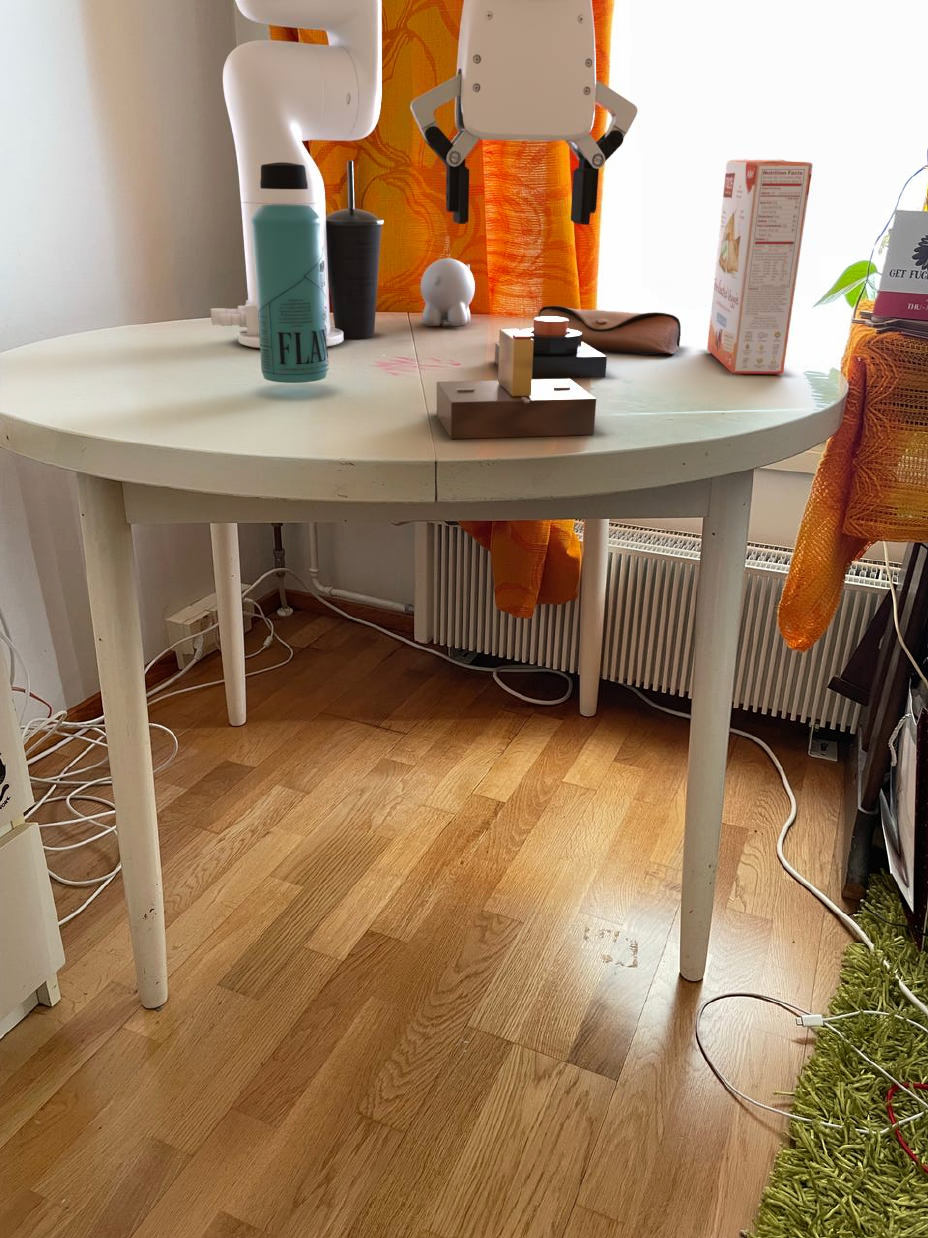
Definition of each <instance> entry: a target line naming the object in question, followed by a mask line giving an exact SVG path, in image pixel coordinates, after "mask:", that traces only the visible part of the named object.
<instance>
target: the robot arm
mask: <svg viewBox="0 0 928 1238" xmlns="http://www.w3.org/2000/svg"><path fill="white" fill-rule="evenodd" d="M234 2H235V4H236V6H237V8H238V10H239V12H240V13H241V14H242V16H244V17H245V18H246V19H248V20H249V21H252V22H255V23H256V24H257V23H258V24H263V25H269V26H275V27H284V28H293V29H294V28H295V29H305V30H315V31H325V33H326V36H327V41H328V44H319V43H318V44H316V43H307V42H299V41H288V40H275V39H257V40H251V41H248V42H245V43H242V44H239V45H238V46H236V47H235V48H234V49H233V50H232V51H231V52H230V53H229V54H228V55H227V58H226V60H225V62H224V66H223V71H222V89H223V96H224V101H225V105H226V109H227V114H228V118H229V122H230V126H231V132H232V136H233V142H234V147H235V154H236V160H237V162H236V163H237V171H238V181H239V194H240V206H241V219H242V234H243V247H244V261H245V273H246V275H245V276H246V285H247V286H246V288H247V299H245V305H237V308H226V307H223V308H222V307H218V308H214V307H213V308H212V307H211V308H210V318H211V325H212V326H221V327H231V326H238V327H239V328H244V329H241V330H239V331H238V332H237V341H238V343H239V344H241V345H243V346H245V347H250V348H255V349H260V338H259V324H258V297H257V284H256V271H255V257H254V244H253V230H252V224H251V218H252V216H253V215H254V214H255V212H256V211H257V210H258V209H259V208H260V207H261V206H262V205H277V204H287V205H307V206H310V207H311V208H312V209H313V210H314V211H315V212H316V213H317V214H318V215H319V217H320V218H321V225H320V228H321V244H322V249H323V248H324V250H322V253H323V255H322V261H323V262H324V269H325V270H323V278H324V273H325V278H324V282H325V284H323V285H325V286H324V294H325V295H324V308H325V307H326V308H325V312H326V313H325V314H326V316H327V318H326V316H325V318H326V319H325V325H326V328H327V336H326V344H327V346H328V347H333V346H336V345H340V344H341V343H342V342H344V338H343V331H342V330H340V329H338V328H335V326H331V314H330V312H331V311H330V284H329V276H328V259H327V235H326V216H327V214H326V195H325V194H326V192H325V185H324V180H323V177H322V173H321V172H320V170H319V167H318V166H317V163H315V161H314V159H313V158H312V156H311V155H310V153H309V152H308V150H307V148H306V147H305V145H304V143H303V142H306V141H338V142H339V141H340V142H342V141H344V142H345V141H346V142H350V141H358V140H362V139H364V138H366V137H368V136H369V135H371V133H373V131H374V130H375V128H376V125H377V124H378V121H379V118H380V113H381V105H382V104H381V103H382V85H383V84H382V80H383V79H382V78H383V75H382V73H383V71H382V66H383V65H382V63H383V62H382V61H383V60H382V57H383V56H382V53H383V51H382V49H383V47H382V44H383V43H382V39H383V38H382V0H234ZM594 20H595V19H594V10H593V0H463V4H462V9H461V19H460V26H459V36H458V44H457V45H458V46H457V58H456V59H457V60H456V75H455V76H453V77H451V78H450V79H448V80H446V81H444V82H443V83H441V84H439V85H437V86H435V87H434V88H432V89H429V91H427V92H425V93H423V94H421V95H420V96H418V97H415V98H414V99H413V100H411V102H410V105H409V108H410V111H411V113H412V116H413V118H414V120H415V122H416V124H417V125H416V126H417V127H418V128H419V130H420V132H421V135H422V138H423V140H424V142H425V143H426V144H427V145H428V146H429V148H430V149H431V150H432V151H433V152H434V153H435V155H436V156H437V157H438V158H439V159H440V161H442V163H443V165H445V167H446V168H445V208H446V209H445V210H446V212H447V213H452V219H453V223H455V224H458V225H466V223H469V215H470V213H469V211H470V209H469V207H470V168H468V166H466V157H468V155H469V154H470V153H471V152H472V150H473V149H474V147H475V146H476V145H477V144H478V142H479V141H481V140H483V141H517V142H518V141H521V142H523V141H525V142H562V141H565V142H566V144H567V145H568V147H569V148H570V150H571V151H572V153H573V154H574V156H575V157H576V159H577V160H578V164H577V165H578V166H577V167H576V168H575V169H574V170H573V172H572V187H571V188H572V190H571V205H570V221H571V222H573V223H574V224H577V225H581V226H583V225H585V226H589V225H590V222H591V214H595V213H596V211H597V203H598V187H599V176H600V175H599V173H600V169H602V168H603V167H604V166H605V164H606V162H607V160H608V159H609V158H610V157H611V156H612V155H613V154H614V153H615V152H616V151H617V150H618V149H619V148H621V146H622V145H623V144H624V139H625V136H626V135H627V134H628V132H629V130H630V129H631V126H632V124H633V122H634V121H635V119H636V117H637V115H638V107H637V105H635V104H634V103H633V102H631V101H629V100H628V99H626V98H625V97H624V96H622V95H621V94H619V93H617V92H616V91H614V90H613V89H612V88H610V87H609V86H607V85H606V84H604V83H602V82H601V81H599V80H598V79H597V74H596V73H597V69H596V68H597V67H596V62H597V61H596V59H597V58H596V56H597V55H596V36H595V35H596V34H595V22H594ZM453 99H454V123H455V128H456V130H457V134H456V135H455V136H454V137H453V139H452V140H450V139H449V138H448V137H447V136H446V134H445V133H444V132H443V131H442V130H441V129H440V128H439V125H438V123H437V120H436V118H435V112H436V110H437V108H439V107H442V106H443V105H445V104H446V103H448V102H450V101H451V100H453ZM596 105H597V106H598V107H600V108H601V109H603V110H604V111H606V112H607V113H609V114H610V116H611V121H610V123H609V126H608V128H607V130H606V132H604V133H603V135H601V136H600V138H599V139H598V140H597V141H595V139H594V137H593V136H592V134H591V131H592V129H593V126H594V121H595V114H596V113H595V112H596V110H595V109H596ZM278 162H286V163H294V164H299V165H304V166H305V170H306V179H307V183H308V189H261V187H260V181H261V165H264V164H270V163H278ZM324 282H323V283H324ZM325 298H326V299H325ZM327 337H328V338H327ZM327 339H328V340H327ZM327 341H328V343H327Z"/></svg>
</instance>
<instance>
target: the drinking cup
mask: <svg viewBox="0 0 928 1238" xmlns="http://www.w3.org/2000/svg"><path fill="white" fill-rule="evenodd" d="M346 167H347V171H346V173H347V198H348V199H347V202H348V203H347V204H348V208H342V209H338V210H335V211H332V212H331V213H329V214H326V235H327V259H328V283H329V294H330V299H331V308H332V309H331V310H332V317H333V325H334V328H338V329H340V330H342V331H343V339H345V340H346V339H347V340H361V339H362V340H363V339H371V338H373V337H375V326H376V324H375V323H376V313H377V312H376V311H377V297H378V281H379V268H380V267H379V266H380V252H381V251H380V250H381V240H382V239H381V238H382V226H383V225H384V224H385V221H384V219H382V218H379V217H378V216H376V215H375V214H374V213H372V212H370V211H367V210H364V209H360V208H355V189H354V188H355V187H354V185H355V184H354V183H355V182H354V161H353V160H346Z"/></svg>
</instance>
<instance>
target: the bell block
mask: <svg viewBox="0 0 928 1238" xmlns="http://www.w3.org/2000/svg"><path fill="white" fill-rule="evenodd" d="M533 330H534V327H530V328H522V329H521V330H520V331H521V332H523V333H524V334H529V335H530V336H531V339H533V340H534V342H533V365H532V380H544V379H593V378H595V379H596V378H597V379H598V378H606V377H607V376H606V375H607V361H608V356H606V355H605V354H603V352H598V351H597V350H595V349H594V348H592V347H590V346H589V345H587V344H585V343H584V342H582V333H581V332H579V331H577V330H571V329H568V332H567V335H554V336H549V335H538V334H533ZM494 344H495V345H494V364H495V365H496V366H497V367H499V342H496V343H494Z"/></svg>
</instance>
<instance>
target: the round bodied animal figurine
mask: <svg viewBox="0 0 928 1238" xmlns="http://www.w3.org/2000/svg"><path fill="white" fill-rule="evenodd" d="M470 266H471V265H470V264H469V263H467V264H465V263H464V262H461V261H460V260H457V259H454V258H449V257H448V258H447V257H446V258H441V259H437V260H436V261H434V262H432V263H431V264H430V265H428V267H427V268H426V269H425V270H424V273H423V274H422V276H421V280H420V291H421V292H420V293H421V298H422V299H423V301H424V303H425V306H424V308H423V311H422V314H421V323H422V324H423V325H425V326H428V327H439V326H441V325H443V324H446V323H448V325H450V326H452V327H454V326H455V327H459V326H463V325H466V324H469V323H470V322H471V312H470V311H471V310H470V307H469V305H470V304H471V302H472V300H473V298H474V295H475V290H476V289H475V288H476V286H475V285H476V284H475V279H474V276H473V273H472V271H471V270H470Z"/></svg>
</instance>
